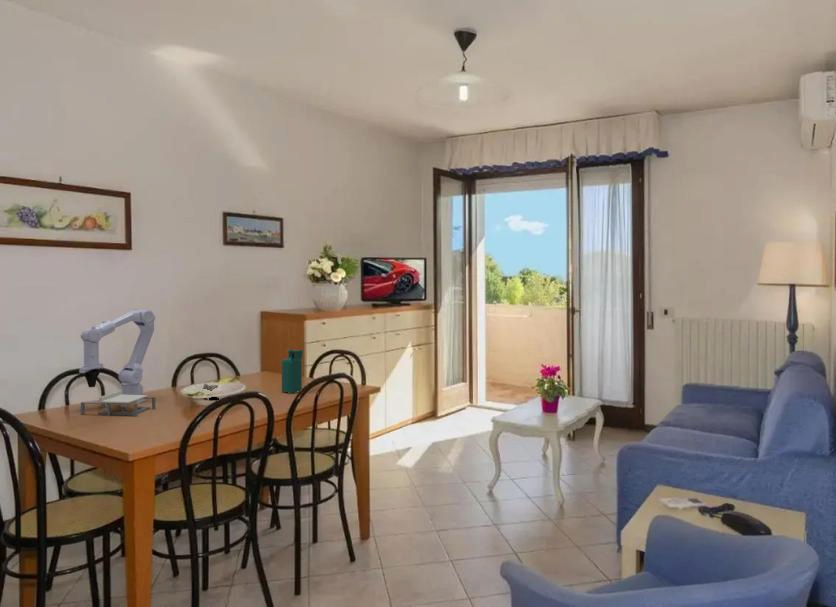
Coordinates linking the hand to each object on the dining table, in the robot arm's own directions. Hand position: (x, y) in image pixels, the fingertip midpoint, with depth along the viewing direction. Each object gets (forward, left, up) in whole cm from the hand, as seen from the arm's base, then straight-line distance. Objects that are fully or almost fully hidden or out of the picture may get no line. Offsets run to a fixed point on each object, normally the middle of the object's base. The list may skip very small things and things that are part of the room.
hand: (91, 387), depth 259 cm
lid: (+2, +16, -4) cm, 17 cm away
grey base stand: (+2, +14, -10) cm, 17 cm away
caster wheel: (-32, +42, -11) cm, 54 cm away
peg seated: (+2, +12, -10) cm, 16 cm away
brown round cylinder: (+2, +20, -10) cm, 22 cm away
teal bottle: (-54, +73, -11) cm, 91 cm away
